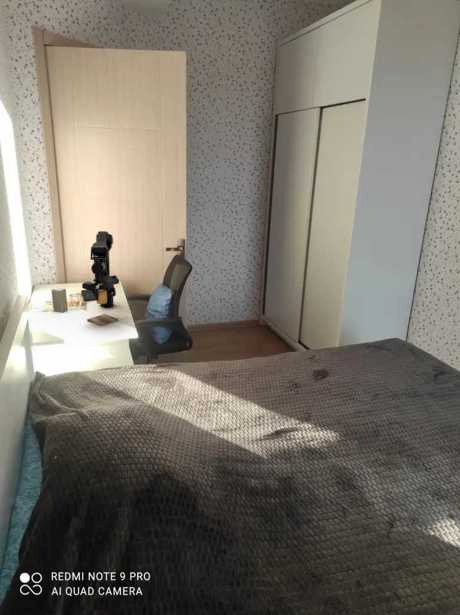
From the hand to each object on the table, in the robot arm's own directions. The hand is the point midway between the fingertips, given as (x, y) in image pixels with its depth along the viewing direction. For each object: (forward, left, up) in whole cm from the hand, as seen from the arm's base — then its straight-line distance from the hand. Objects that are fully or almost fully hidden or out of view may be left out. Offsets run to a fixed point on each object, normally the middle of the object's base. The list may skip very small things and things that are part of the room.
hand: (101, 299), depth 232 cm
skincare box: (+5, -29, -12) cm, 32 cm away
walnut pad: (0, 0, -12) cm, 12 cm away
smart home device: (-22, -39, -12) cm, 47 cm away
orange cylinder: (0, 0, -2) cm, 2 cm away
